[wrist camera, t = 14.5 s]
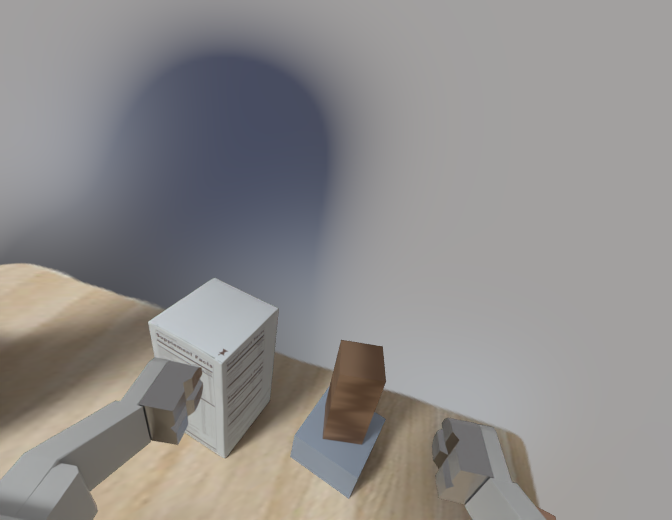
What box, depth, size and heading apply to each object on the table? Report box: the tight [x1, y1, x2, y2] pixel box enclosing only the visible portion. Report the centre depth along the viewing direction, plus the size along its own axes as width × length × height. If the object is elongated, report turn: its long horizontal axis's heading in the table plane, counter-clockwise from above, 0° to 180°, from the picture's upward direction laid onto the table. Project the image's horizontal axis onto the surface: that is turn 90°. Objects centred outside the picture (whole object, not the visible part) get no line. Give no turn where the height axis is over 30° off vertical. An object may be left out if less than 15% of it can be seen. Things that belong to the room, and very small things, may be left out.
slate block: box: [290, 386, 386, 499], centre depth 41 cm, size 8×8×5 cm
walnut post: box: [323, 340, 386, 445], centre depth 37 cm, size 4×4×11 cm
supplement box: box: [148, 278, 279, 458], centre depth 39 cm, size 10×9×17 cm
